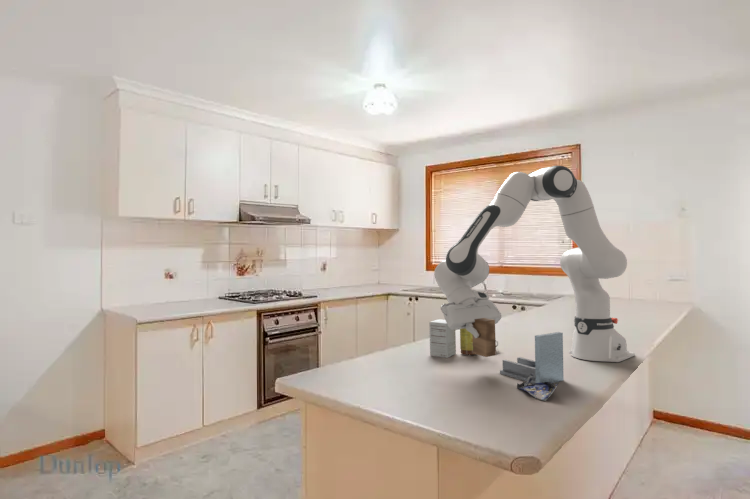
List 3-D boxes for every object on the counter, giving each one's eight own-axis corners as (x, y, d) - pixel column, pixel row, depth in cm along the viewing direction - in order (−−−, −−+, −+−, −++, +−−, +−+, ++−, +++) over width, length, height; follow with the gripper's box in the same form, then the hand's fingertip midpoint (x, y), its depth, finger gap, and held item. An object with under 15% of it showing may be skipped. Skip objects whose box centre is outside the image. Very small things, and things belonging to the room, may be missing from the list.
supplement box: (438, 351, 174) (438, 318, 174) (456, 354, 169) (455, 320, 169) (429, 355, 168) (428, 321, 168) (447, 358, 163) (446, 323, 163)
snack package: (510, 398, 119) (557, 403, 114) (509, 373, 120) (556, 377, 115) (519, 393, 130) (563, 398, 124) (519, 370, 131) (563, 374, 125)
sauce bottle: (477, 356, 166) (476, 301, 166) (460, 355, 167) (459, 301, 167) (477, 352, 172) (476, 299, 172) (460, 351, 173) (459, 299, 173)
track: (522, 369, 147) (521, 325, 147) (563, 380, 133) (562, 332, 133) (499, 373, 142) (499, 328, 142) (539, 385, 128) (539, 336, 128)
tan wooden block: (482, 351, 146) (481, 317, 146) (496, 355, 141) (494, 319, 141) (473, 353, 144) (471, 318, 144) (486, 357, 139) (485, 321, 139)
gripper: (442, 298, 144) (463, 333, 135) (490, 293, 154) (513, 325, 145) (434, 310, 148) (454, 346, 139) (482, 305, 158) (503, 337, 149)
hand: (485, 335), depth 142 cm, fingers closed on tan wooden block, 4 cm apart
